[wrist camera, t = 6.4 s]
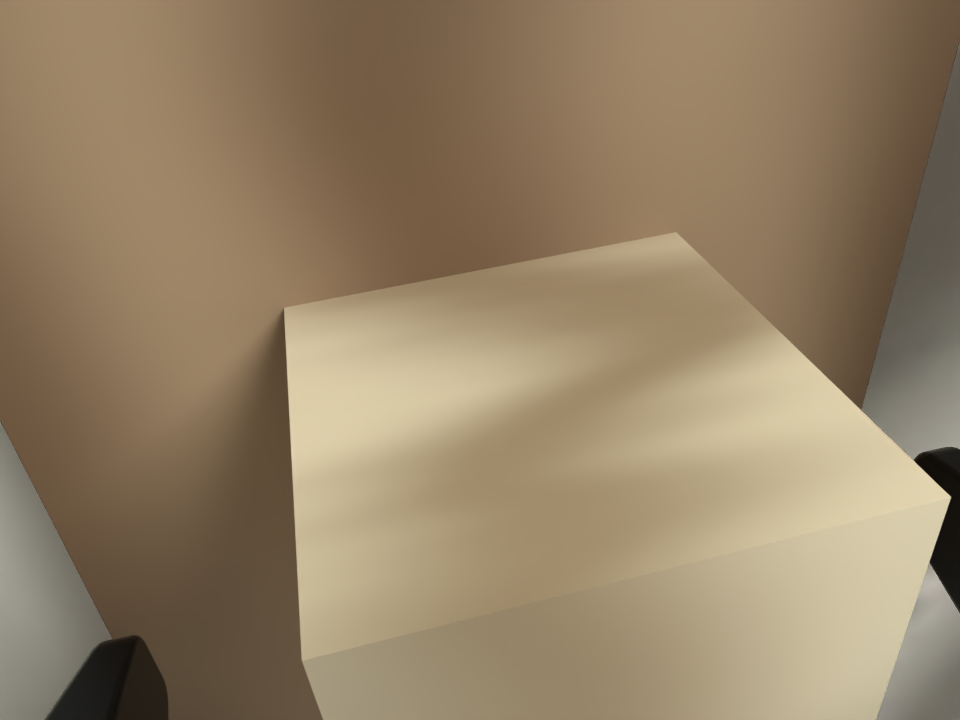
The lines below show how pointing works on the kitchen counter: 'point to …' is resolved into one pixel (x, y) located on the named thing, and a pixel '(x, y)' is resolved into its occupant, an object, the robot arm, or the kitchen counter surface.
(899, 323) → the kitchen counter surface
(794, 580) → the beech cube
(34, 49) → the walnut block
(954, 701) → the kitchen counter surface
